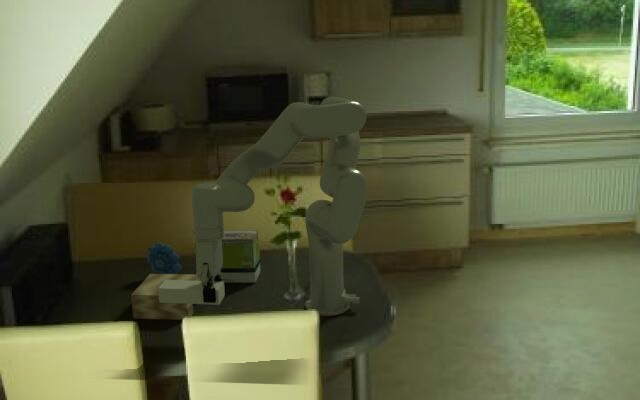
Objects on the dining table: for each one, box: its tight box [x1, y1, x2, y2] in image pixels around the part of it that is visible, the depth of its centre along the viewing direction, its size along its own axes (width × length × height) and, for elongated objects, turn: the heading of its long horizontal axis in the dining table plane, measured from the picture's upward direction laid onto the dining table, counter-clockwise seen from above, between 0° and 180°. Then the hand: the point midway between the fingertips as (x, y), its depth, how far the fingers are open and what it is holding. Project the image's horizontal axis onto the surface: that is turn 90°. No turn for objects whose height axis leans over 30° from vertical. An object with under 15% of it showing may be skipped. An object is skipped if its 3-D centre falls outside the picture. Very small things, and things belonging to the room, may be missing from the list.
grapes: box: [146, 242, 182, 274], centre depth 226 cm, size 12×7×12 cm, turn 76°
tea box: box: [208, 229, 261, 284], centre depth 225 cm, size 15×10×15 cm
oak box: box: [130, 273, 202, 320], centre depth 205 cm, size 16×16×7 cm
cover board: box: [158, 280, 226, 306], centre depth 186 cm, size 16×6×4 cm, turn 84°
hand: (213, 296), depth 185 cm, fingers closed on cover board, 6 cm apart
